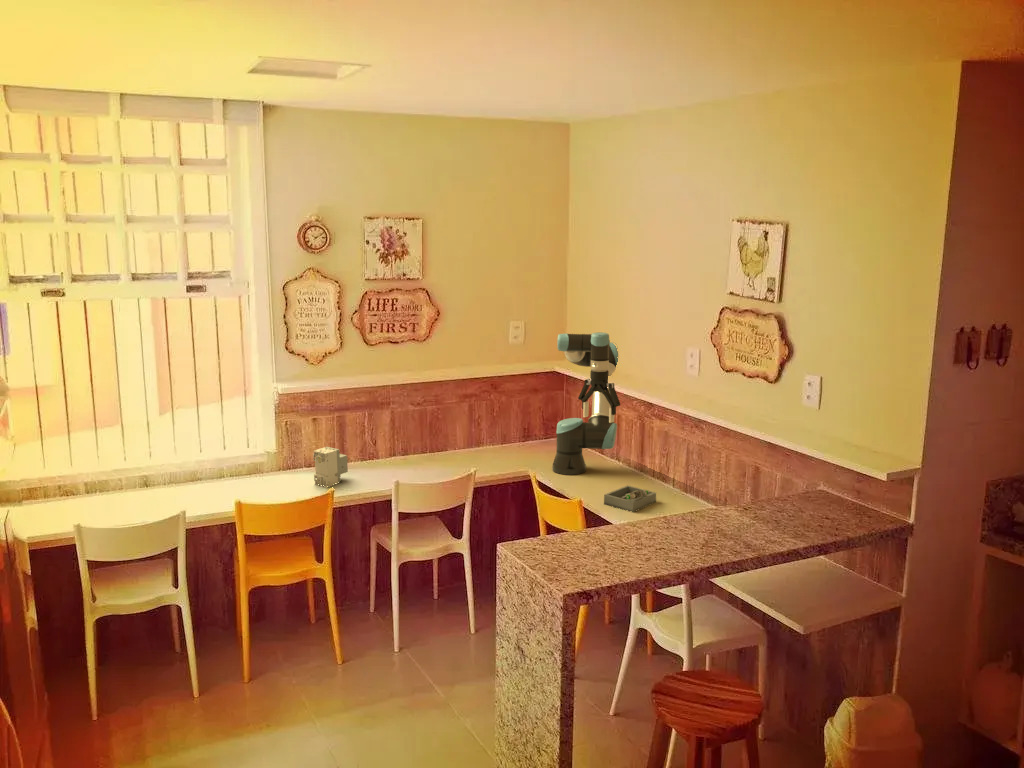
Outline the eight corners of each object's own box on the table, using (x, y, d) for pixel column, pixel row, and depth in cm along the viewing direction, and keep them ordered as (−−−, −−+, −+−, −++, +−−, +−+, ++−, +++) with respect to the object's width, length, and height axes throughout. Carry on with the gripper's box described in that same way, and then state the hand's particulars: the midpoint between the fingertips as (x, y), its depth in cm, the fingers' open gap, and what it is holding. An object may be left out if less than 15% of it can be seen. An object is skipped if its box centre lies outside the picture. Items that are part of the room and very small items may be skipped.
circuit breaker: (350, 479, 388) (349, 446, 385) (326, 487, 377) (325, 453, 374) (338, 476, 393) (337, 443, 390) (314, 484, 381) (312, 450, 378)
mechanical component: (633, 499, 361) (649, 495, 353) (614, 504, 355) (630, 500, 347) (631, 492, 361) (647, 488, 353) (612, 497, 355) (628, 492, 347)
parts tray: (627, 494, 368) (627, 485, 367) (655, 502, 358) (656, 492, 358) (604, 504, 356) (604, 494, 355) (632, 512, 347) (633, 502, 346)
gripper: (570, 367, 376) (569, 416, 380) (618, 375, 359) (617, 426, 363) (581, 365, 381) (580, 413, 385) (629, 372, 364) (628, 422, 369)
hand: (598, 419), depth 374 cm, fingers open, 13 cm apart
